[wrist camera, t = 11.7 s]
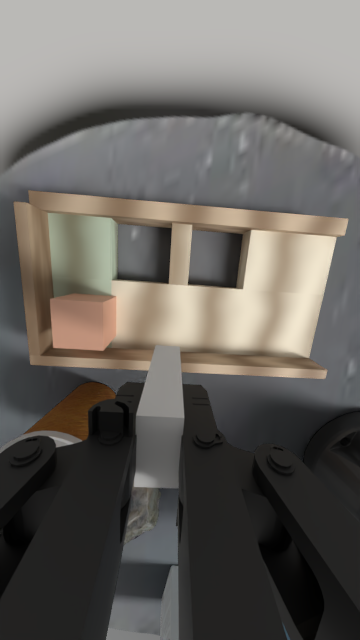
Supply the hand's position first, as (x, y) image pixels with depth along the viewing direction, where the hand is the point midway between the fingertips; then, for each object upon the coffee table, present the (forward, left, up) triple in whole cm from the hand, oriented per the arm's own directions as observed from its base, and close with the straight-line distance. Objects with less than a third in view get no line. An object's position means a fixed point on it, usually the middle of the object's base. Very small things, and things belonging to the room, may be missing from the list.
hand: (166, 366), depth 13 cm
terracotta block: (+8, -1, -10) cm, 13 cm away
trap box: (-2, -4, -13) cm, 13 cm away
